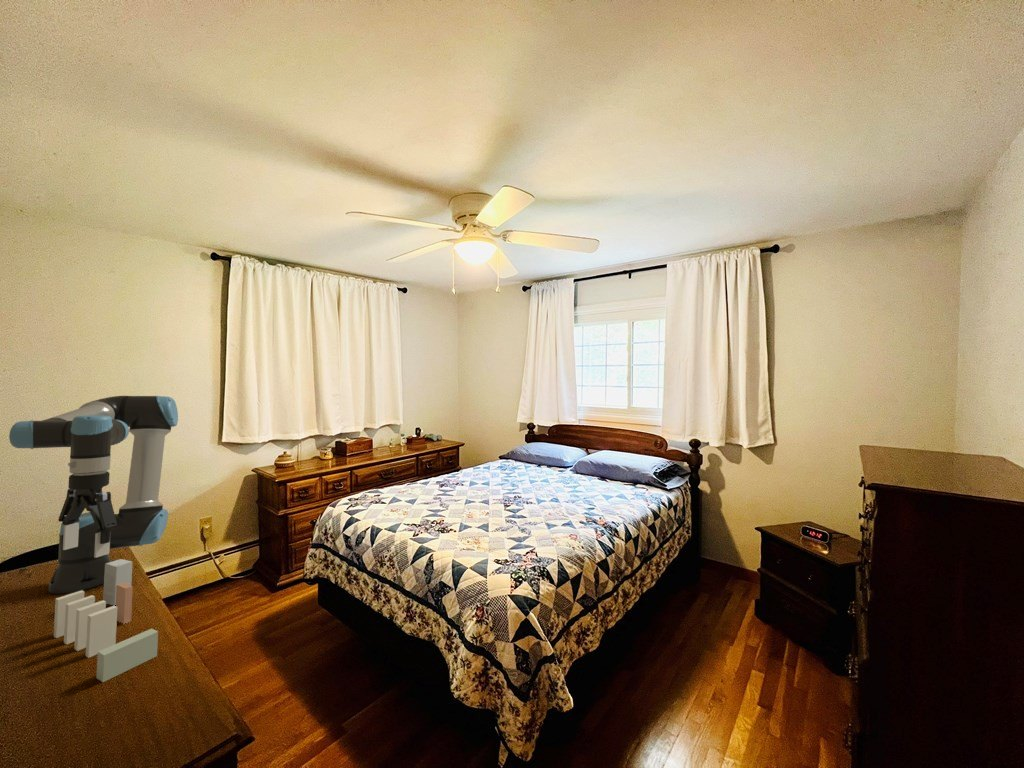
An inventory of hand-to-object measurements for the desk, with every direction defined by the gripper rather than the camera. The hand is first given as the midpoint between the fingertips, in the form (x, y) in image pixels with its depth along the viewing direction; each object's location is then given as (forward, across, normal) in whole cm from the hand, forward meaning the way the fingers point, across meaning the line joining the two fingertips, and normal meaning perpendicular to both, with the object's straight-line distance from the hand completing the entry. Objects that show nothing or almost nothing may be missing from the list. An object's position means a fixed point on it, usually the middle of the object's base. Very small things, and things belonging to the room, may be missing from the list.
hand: (85, 551), depth 106 cm
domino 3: (+22, +6, -1) cm, 23 cm away
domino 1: (+22, -6, 0) cm, 23 cm away
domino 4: (+22, +12, -2) cm, 26 cm away
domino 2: (+22, 0, -1) cm, 22 cm away
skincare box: (+23, -13, +14) cm, 30 cm away
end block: (+22, +26, -4) cm, 34 cm away
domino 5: (+22, +1, +8) cm, 24 cm away
